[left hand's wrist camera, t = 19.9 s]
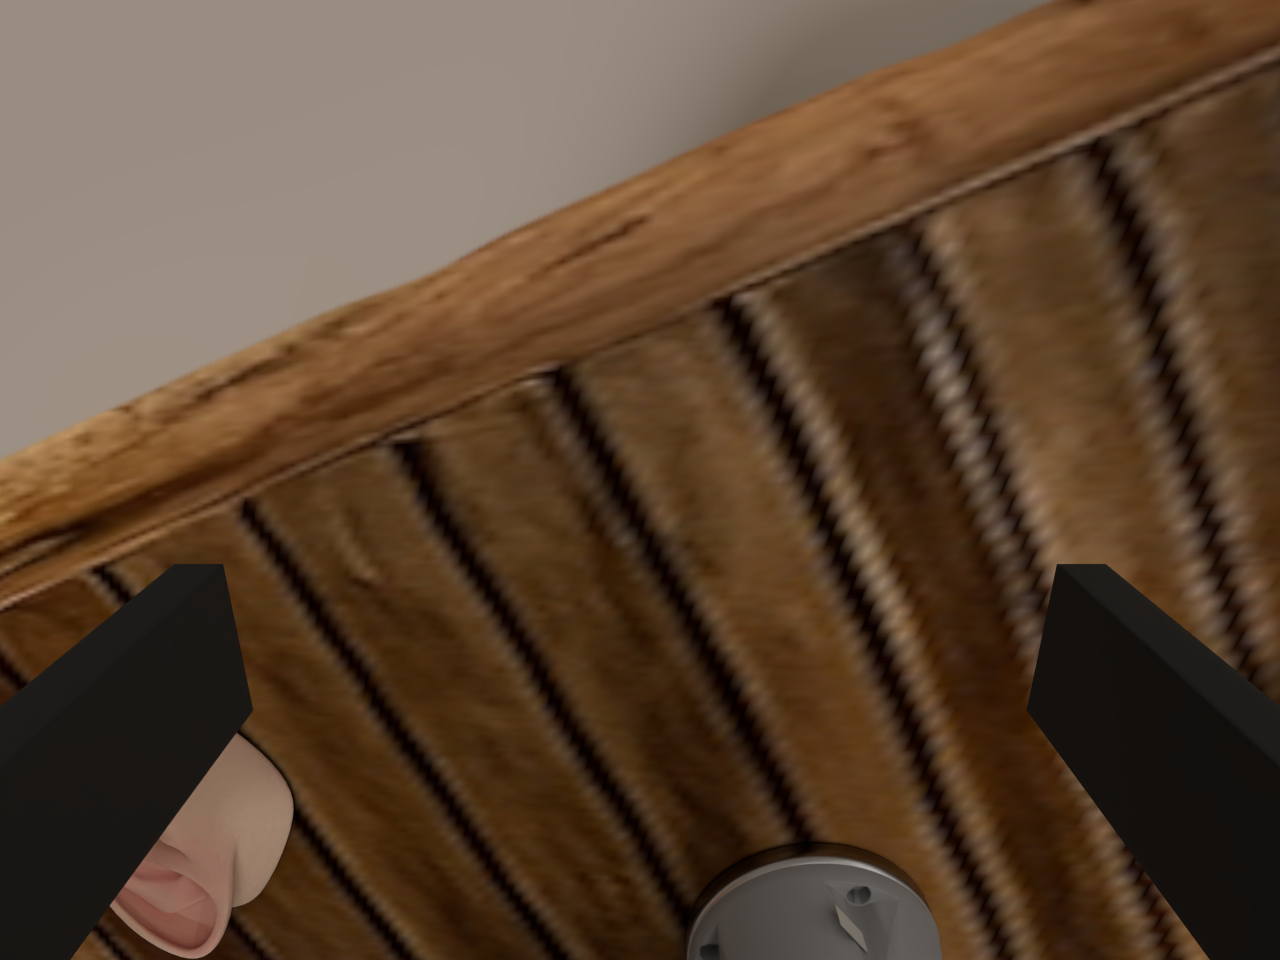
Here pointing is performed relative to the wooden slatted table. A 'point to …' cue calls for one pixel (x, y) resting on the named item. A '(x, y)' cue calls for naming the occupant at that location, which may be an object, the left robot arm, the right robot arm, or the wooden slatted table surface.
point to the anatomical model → (211, 854)
